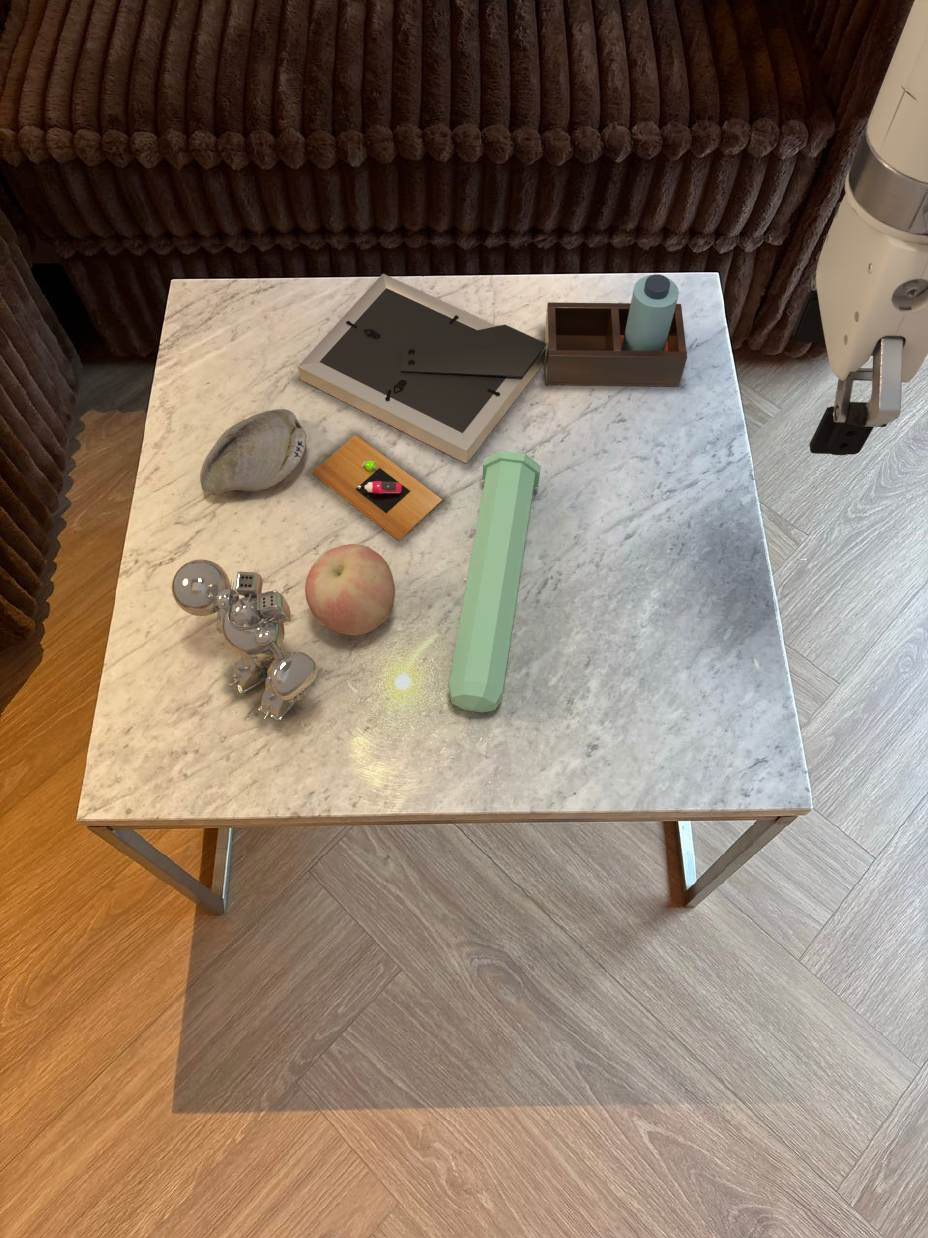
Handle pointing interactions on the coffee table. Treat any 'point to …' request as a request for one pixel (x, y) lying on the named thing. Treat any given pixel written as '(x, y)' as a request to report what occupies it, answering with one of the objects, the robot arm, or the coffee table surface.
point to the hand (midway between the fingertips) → (823, 392)
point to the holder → (607, 348)
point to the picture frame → (424, 366)
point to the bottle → (650, 314)
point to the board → (377, 487)
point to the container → (493, 582)
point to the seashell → (254, 453)
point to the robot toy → (248, 631)
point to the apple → (350, 589)
